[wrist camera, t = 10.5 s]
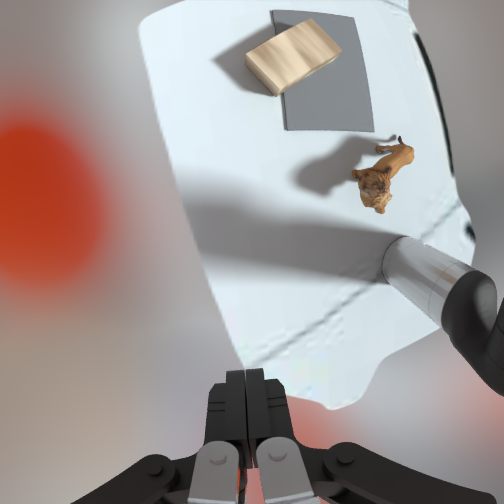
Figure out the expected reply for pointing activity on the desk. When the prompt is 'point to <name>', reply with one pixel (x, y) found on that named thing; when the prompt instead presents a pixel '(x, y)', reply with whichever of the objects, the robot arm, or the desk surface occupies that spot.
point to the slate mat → (329, 80)
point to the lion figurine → (382, 175)
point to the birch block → (292, 56)
